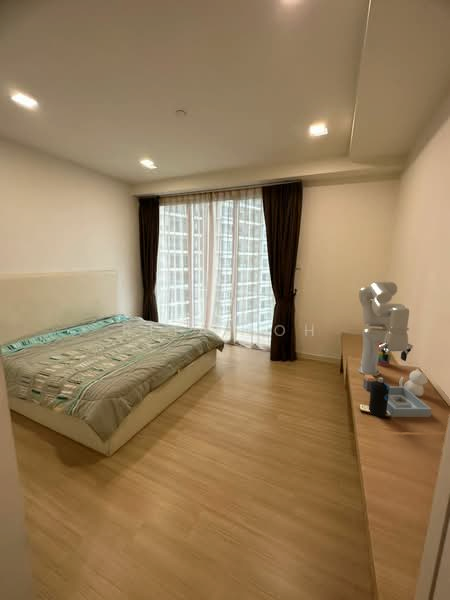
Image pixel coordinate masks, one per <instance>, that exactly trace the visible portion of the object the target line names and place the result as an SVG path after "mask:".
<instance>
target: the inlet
mask: <svg viewBox="0 0 450 600" xmlns="http://www.w3.org/2000/svg"><path fill="white" fill-rule="evenodd" d="M388 401H389V402H390V403H391V404H392V405H393V406H394V407H395V408H412V404H411V403H410V402H409V401H408V400H407V399H406V398H404V397H403V396H402V395H388ZM396 401H400V402H401V403H397V402H396Z"/></svg>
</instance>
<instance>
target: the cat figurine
mask: <svg viewBox="0 0 450 600" xmlns="http://www.w3.org/2000/svg"><path fill="white" fill-rule="evenodd" d="M398 381H399V387H405V388H406V389H407V390H409V391H410V392H411V393H412V394H414V395H415V396H416V397H421V396H423V395H424V391H425V390H424V389H425V388H424V386H423V385H425V384H427V382H428V378H427V375H425V374H424V373H423V371H420V368H416V369H415V370H413V371H411V372H410V373H409V380H407V381H406V382H405V383H404V385H403V381H404V376H401V378H400V379H399V380H398Z"/></svg>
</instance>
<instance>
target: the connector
mask: <svg viewBox="0 0 450 600" xmlns="http://www.w3.org/2000/svg"><path fill="white" fill-rule="evenodd" d="M363 375H364V376H363V389H364V390H365V391H367V392H371V382H373V381H376V380H375V379H376V378H375V376H372V375H365V374H363Z"/></svg>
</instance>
